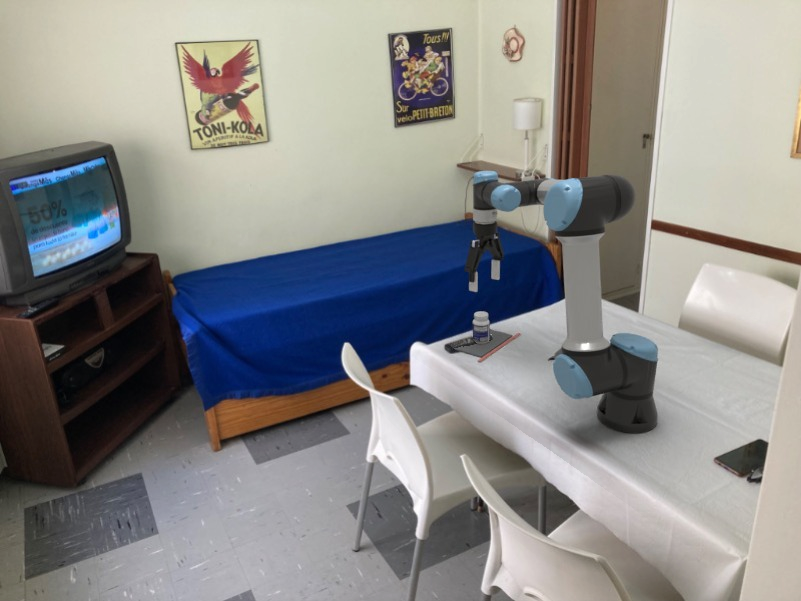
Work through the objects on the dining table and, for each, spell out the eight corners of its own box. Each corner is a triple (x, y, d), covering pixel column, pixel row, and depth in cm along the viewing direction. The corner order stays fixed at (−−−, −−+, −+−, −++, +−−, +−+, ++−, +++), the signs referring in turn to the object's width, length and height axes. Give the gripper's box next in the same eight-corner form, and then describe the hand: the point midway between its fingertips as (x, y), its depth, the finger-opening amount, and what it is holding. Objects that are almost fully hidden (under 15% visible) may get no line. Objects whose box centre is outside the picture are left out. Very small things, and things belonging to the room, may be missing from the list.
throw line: (480, 362, 205) (480, 361, 205) (477, 361, 205) (477, 360, 205) (520, 334, 223) (520, 333, 223) (518, 333, 224) (518, 332, 224)
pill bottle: (476, 336, 222) (477, 309, 218) (492, 339, 219) (492, 312, 216) (469, 342, 218) (469, 315, 214) (485, 345, 215) (485, 318, 211)
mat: (481, 357, 208) (481, 356, 208) (453, 349, 214) (453, 348, 214) (512, 336, 222) (512, 335, 222) (485, 329, 229) (485, 327, 228)
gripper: (473, 231, 191) (473, 298, 199) (515, 214, 209) (513, 276, 217) (452, 228, 196) (453, 293, 203) (495, 211, 214) (494, 272, 221)
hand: (484, 284), depth 210 cm, fingers open, 13 cm apart
